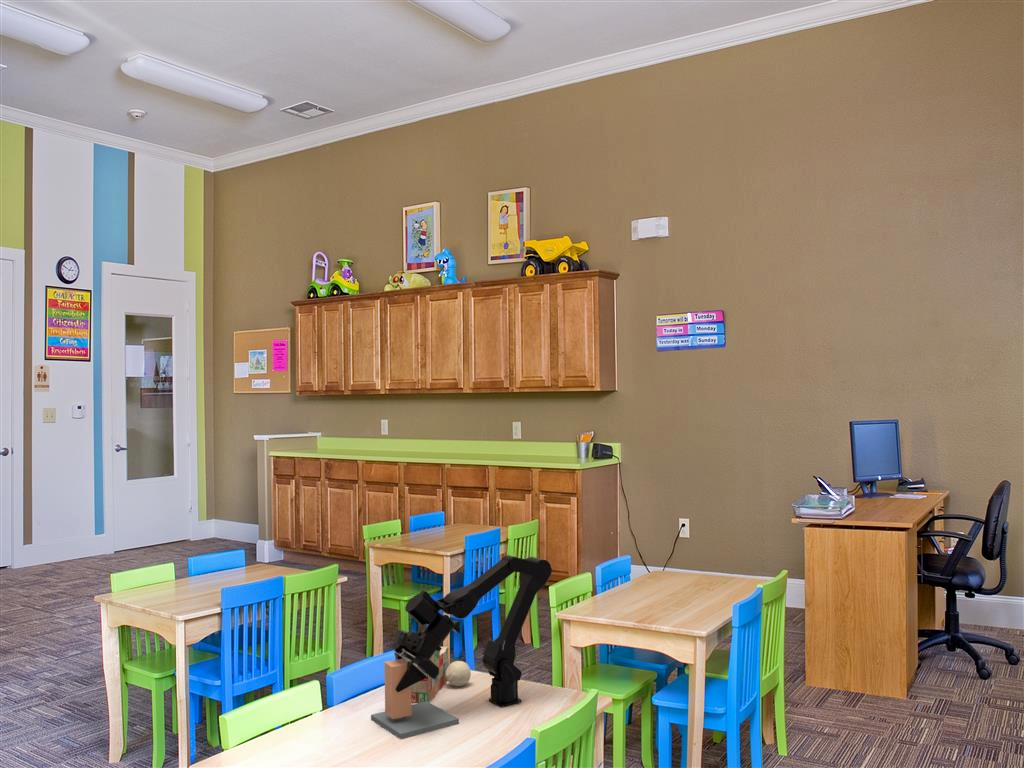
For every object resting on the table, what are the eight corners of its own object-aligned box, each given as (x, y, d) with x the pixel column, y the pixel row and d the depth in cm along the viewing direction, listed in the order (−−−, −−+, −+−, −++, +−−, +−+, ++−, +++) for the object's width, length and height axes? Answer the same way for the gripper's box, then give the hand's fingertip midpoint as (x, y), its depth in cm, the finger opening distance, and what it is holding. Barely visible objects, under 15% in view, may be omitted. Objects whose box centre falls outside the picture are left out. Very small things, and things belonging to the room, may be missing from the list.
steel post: (400, 721, 207) (400, 702, 207) (405, 724, 204) (405, 705, 205) (391, 723, 205) (390, 704, 205) (396, 726, 203) (395, 707, 203)
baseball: (440, 685, 234) (440, 661, 234) (461, 680, 238) (461, 656, 239) (453, 691, 228) (453, 667, 229) (475, 685, 233) (475, 661, 233)
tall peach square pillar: (403, 709, 208) (403, 658, 209) (411, 715, 204) (410, 663, 204) (385, 713, 206) (384, 662, 206) (392, 719, 201) (391, 667, 202)
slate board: (426, 705, 217) (426, 701, 217) (458, 723, 204) (458, 718, 204) (371, 719, 208) (371, 714, 208) (400, 739, 195) (400, 733, 195)
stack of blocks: (428, 678, 241) (428, 635, 242) (449, 679, 240) (448, 636, 240) (406, 703, 220) (405, 656, 221) (428, 704, 219) (428, 657, 219)
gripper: (397, 609, 216) (357, 659, 210) (426, 624, 200) (383, 678, 194) (426, 635, 219) (387, 685, 214) (456, 652, 203) (415, 706, 197)
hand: (392, 688), depth 204 cm, fingers closed on tall peach square pillar, 5 cm apart
